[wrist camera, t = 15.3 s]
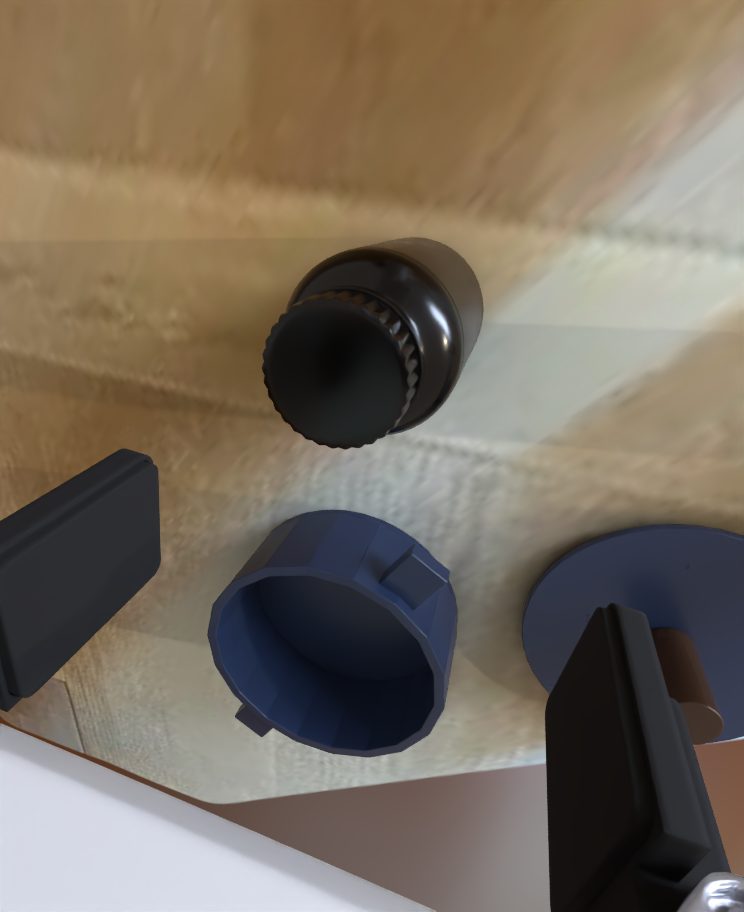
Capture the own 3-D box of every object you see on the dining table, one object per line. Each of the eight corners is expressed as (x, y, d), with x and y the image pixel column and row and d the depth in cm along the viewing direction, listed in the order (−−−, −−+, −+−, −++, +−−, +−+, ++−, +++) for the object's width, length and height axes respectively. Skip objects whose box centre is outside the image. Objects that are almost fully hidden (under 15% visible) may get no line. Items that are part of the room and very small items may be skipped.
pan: (206, 611, 39) (157, 672, 34) (349, 436, 30) (311, 484, 25) (352, 723, 40) (326, 799, 35) (537, 589, 31) (539, 666, 25)
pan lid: (470, 618, 33) (458, 696, 28) (678, 461, 25) (717, 527, 20) (648, 761, 34) (670, 863, 29) (899, 650, 26) (993, 761, 21)
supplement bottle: (408, 203, 24) (313, 196, 13) (514, 304, 24) (503, 374, 14) (324, 315, 27) (195, 380, 17) (419, 402, 28) (353, 517, 17)
